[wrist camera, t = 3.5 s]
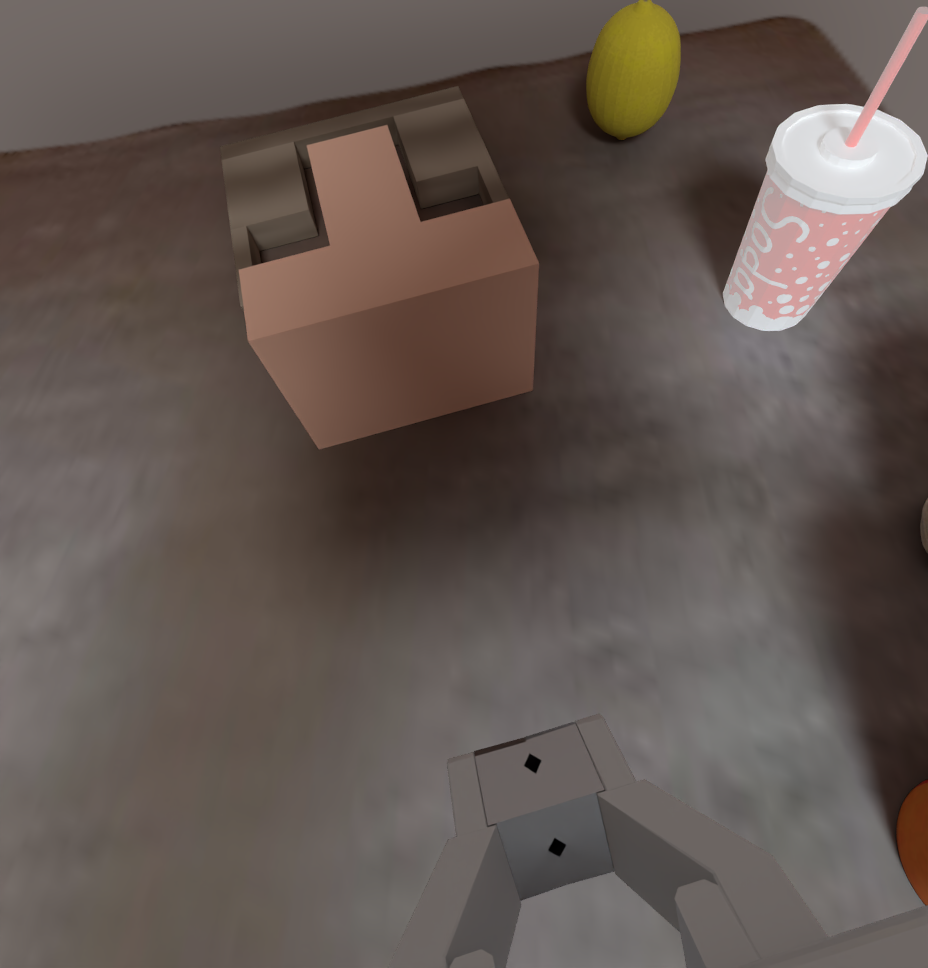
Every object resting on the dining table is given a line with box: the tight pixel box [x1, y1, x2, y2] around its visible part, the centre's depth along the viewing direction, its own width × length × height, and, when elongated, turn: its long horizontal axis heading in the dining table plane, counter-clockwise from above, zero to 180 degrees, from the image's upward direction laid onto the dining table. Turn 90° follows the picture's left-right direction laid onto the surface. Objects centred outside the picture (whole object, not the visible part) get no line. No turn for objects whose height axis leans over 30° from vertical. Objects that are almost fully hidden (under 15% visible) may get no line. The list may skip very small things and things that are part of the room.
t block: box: [239, 125, 539, 450], centre depth 29 cm, size 11×12×9 cm
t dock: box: [220, 86, 509, 311], centre depth 37 cm, size 15×17×2 cm
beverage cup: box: [723, 7, 928, 331], centre depth 26 cm, size 6×6×14 cm
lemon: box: [586, 0, 680, 140], centre depth 36 cm, size 6×6×8 cm
